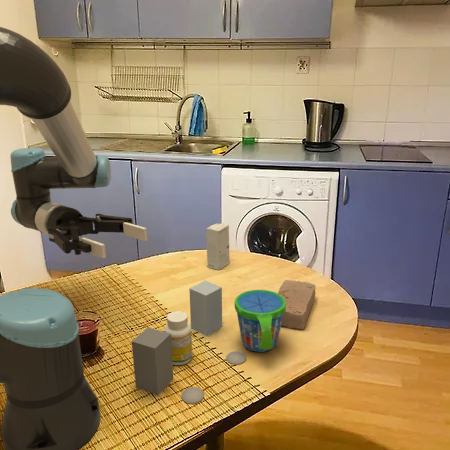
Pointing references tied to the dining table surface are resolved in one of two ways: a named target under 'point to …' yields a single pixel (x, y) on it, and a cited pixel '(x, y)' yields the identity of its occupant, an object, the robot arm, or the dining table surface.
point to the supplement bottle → (179, 337)
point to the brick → (297, 302)
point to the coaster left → (192, 395)
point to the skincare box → (217, 246)
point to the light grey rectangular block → (206, 307)
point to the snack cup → (260, 318)
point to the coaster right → (236, 358)
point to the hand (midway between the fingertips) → (125, 242)
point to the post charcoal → (152, 360)
